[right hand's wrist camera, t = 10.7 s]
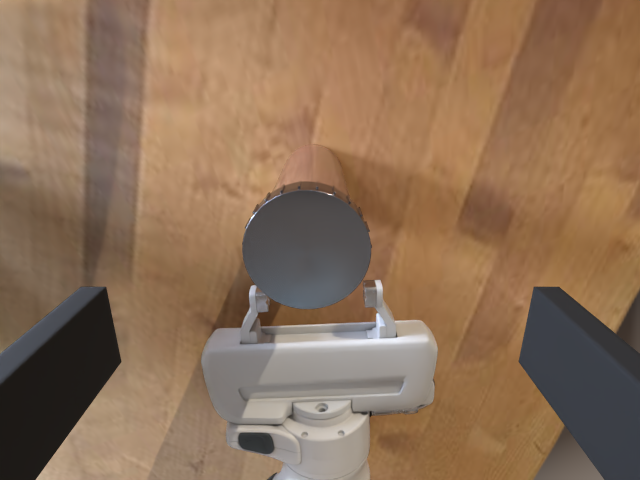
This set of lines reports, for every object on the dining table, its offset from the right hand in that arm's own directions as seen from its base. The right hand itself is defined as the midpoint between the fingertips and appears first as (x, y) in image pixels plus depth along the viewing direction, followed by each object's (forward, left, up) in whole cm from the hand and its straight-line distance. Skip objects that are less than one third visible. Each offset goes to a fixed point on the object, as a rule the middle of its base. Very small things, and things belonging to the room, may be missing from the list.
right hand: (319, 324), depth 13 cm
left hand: (+4, -7, -19) cm, 21 cm away
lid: (0, -1, -7) cm, 7 cm away
